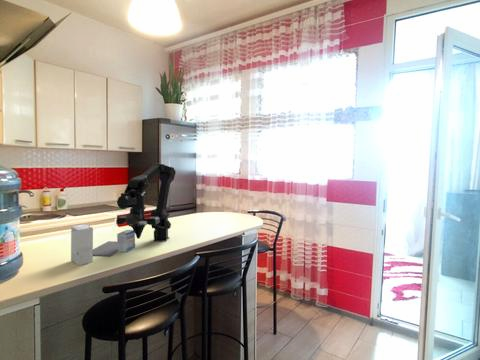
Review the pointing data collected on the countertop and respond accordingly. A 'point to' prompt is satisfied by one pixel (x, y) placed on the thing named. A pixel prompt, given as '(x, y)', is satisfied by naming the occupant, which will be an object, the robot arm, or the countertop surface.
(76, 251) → the skincare box
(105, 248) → the mat
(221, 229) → the countertop surface
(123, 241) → the medicine box
